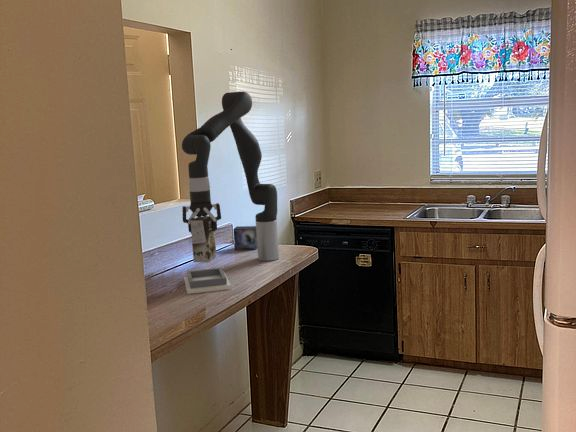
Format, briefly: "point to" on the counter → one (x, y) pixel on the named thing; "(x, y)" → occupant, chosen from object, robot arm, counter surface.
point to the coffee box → (203, 239)
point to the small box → (245, 238)
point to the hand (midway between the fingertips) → (203, 232)
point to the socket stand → (206, 280)
